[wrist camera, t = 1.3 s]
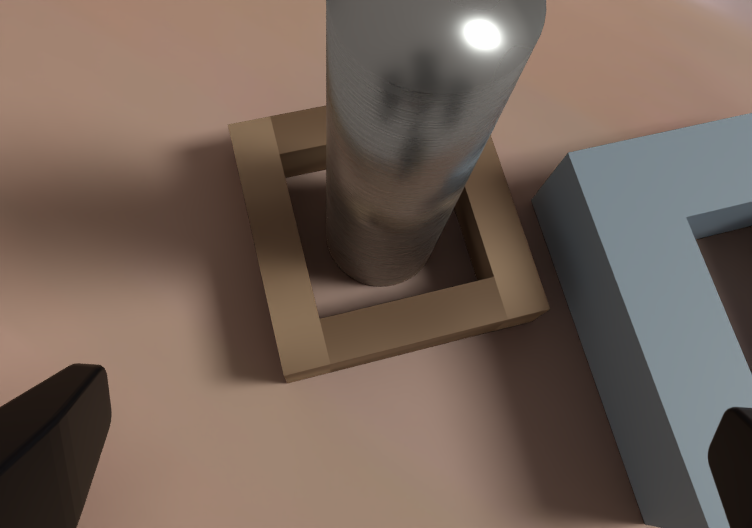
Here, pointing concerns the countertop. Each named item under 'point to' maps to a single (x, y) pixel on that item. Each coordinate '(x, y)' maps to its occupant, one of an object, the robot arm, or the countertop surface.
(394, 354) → the square wooden frame
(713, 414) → the slate-blue hub block
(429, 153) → the cylinder
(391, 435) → the countertop surface
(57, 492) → the robot arm
